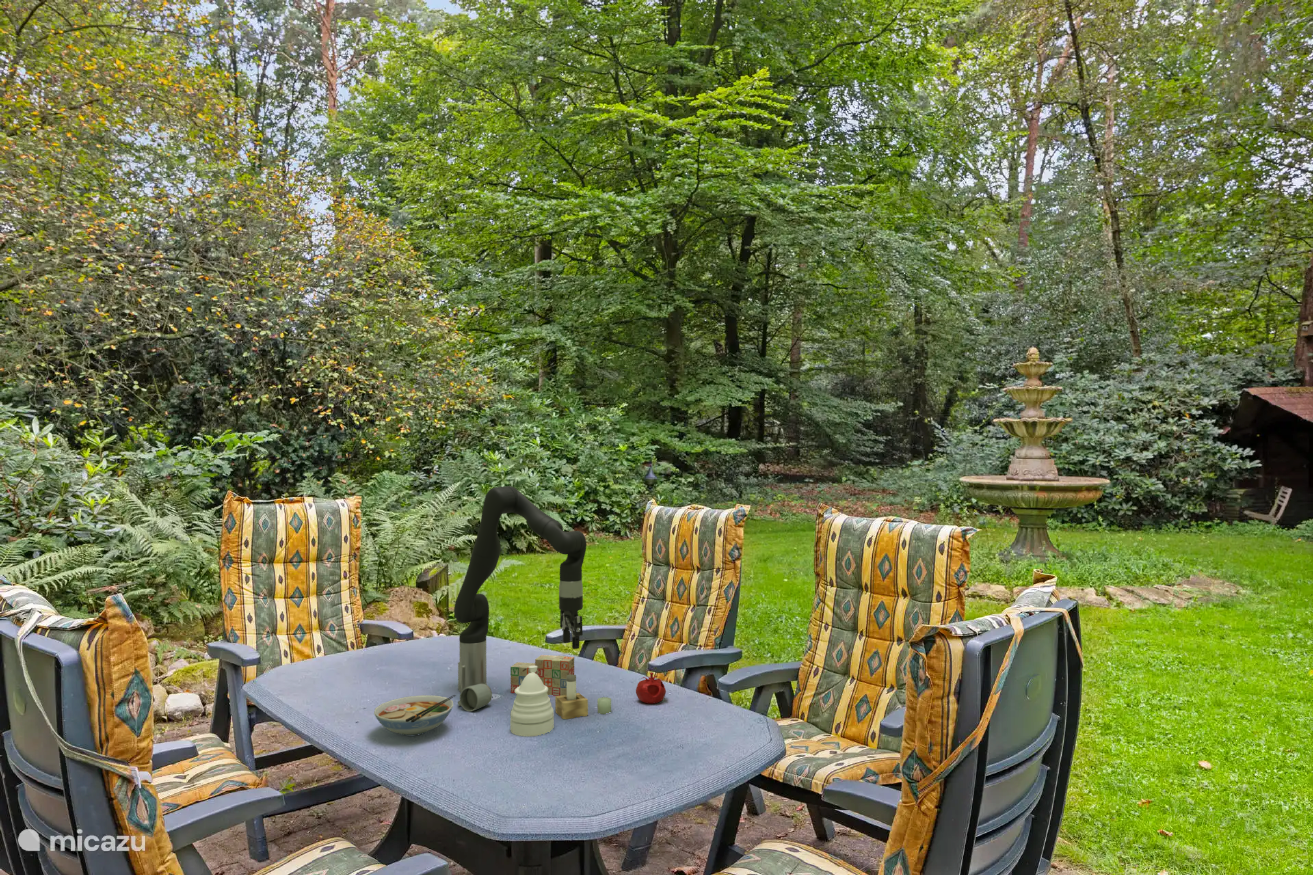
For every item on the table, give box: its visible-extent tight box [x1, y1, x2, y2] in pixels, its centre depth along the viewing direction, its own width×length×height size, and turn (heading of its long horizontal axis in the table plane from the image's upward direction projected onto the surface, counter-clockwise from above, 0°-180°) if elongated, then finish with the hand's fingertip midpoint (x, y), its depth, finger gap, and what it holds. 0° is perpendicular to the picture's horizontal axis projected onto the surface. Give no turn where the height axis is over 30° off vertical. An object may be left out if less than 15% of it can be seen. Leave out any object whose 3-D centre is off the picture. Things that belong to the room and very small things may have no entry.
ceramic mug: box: [457, 684, 493, 713], centre depth 253 cm, size 11×8×8 cm
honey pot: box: [509, 666, 555, 737], centre depth 232 cm, size 13×13×18 cm
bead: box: [596, 696, 612, 715], centre depth 247 cm, size 4×4×4 cm
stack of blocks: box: [509, 654, 575, 697], centre depth 268 cm, size 21×6×12 cm, turn 78°
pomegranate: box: [635, 672, 667, 705], centre depth 257 cm, size 10×10×9 cm
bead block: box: [554, 692, 589, 720], centre depth 245 cm, size 8×8×5 cm
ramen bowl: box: [373, 694, 457, 736], centre depth 231 cm, size 25×23×8 cm
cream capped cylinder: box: [567, 674, 577, 701], centre depth 245 cm, size 3×3×12 cm
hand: (571, 645), depth 245 cm, fingers open, 8 cm apart
